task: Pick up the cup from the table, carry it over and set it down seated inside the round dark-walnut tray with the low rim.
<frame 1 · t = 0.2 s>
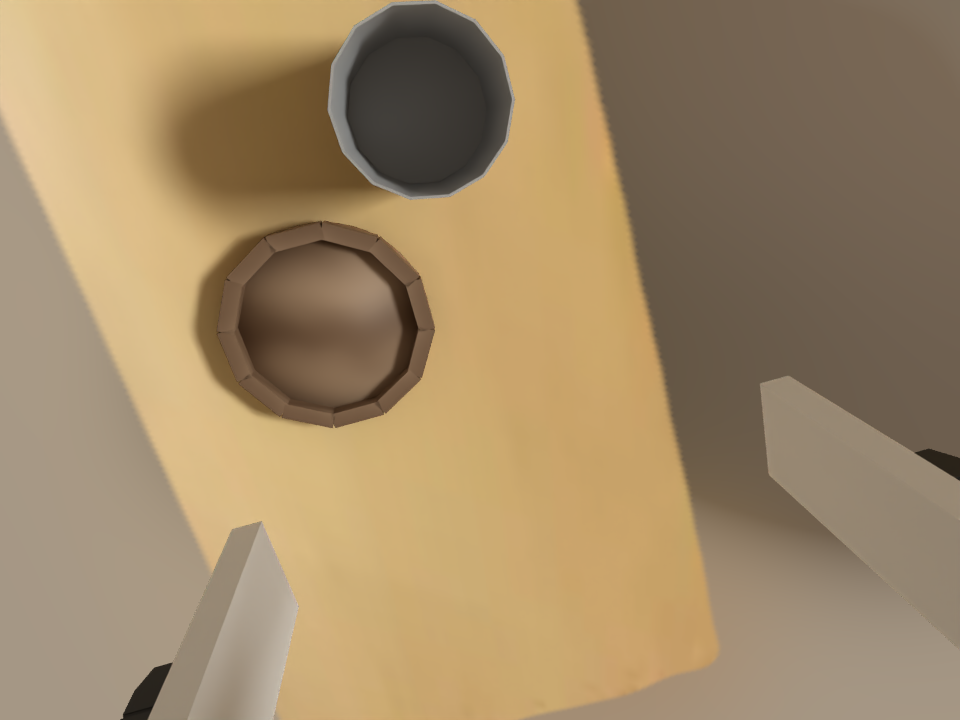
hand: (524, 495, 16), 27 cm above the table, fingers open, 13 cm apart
tray: (330, 323, 41), on the table
cup: (417, 113, 38), on the table
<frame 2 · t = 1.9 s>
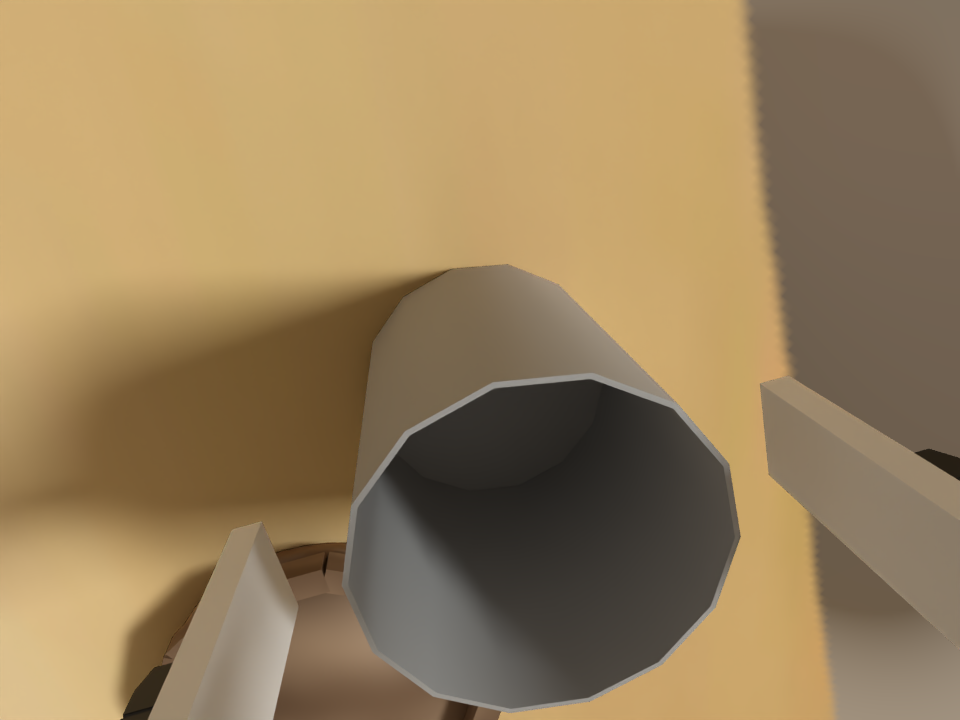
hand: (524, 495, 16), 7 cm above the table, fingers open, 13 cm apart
tray: (338, 674, 26), on the table
cup: (485, 378, 23), on the table
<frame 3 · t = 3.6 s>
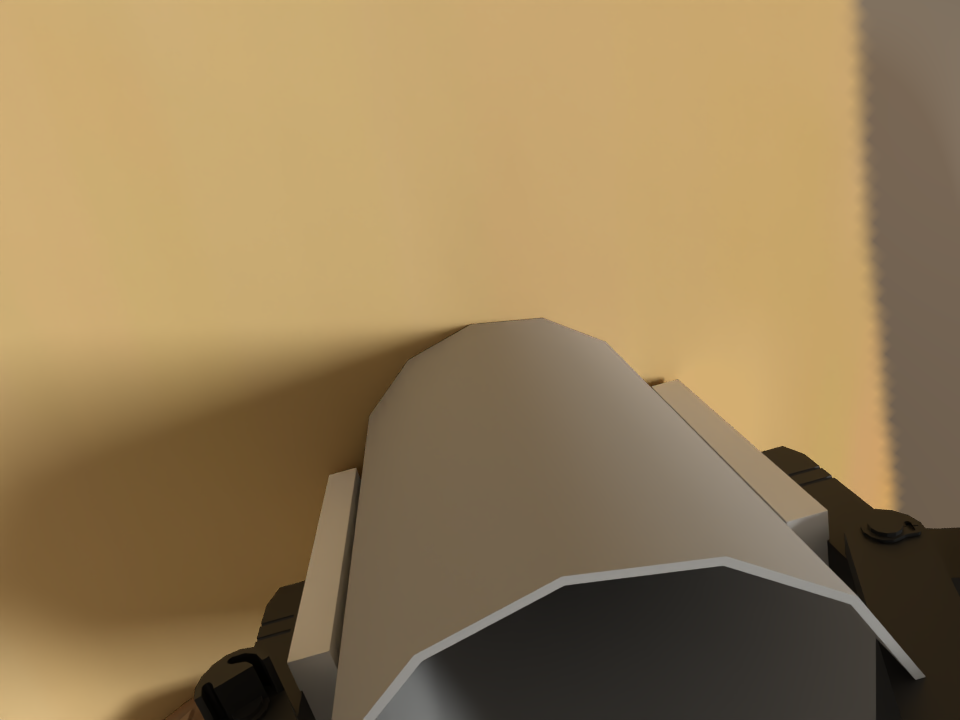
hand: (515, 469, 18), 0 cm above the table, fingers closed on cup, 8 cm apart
cup: (512, 458, 18), on the table, touching gripper
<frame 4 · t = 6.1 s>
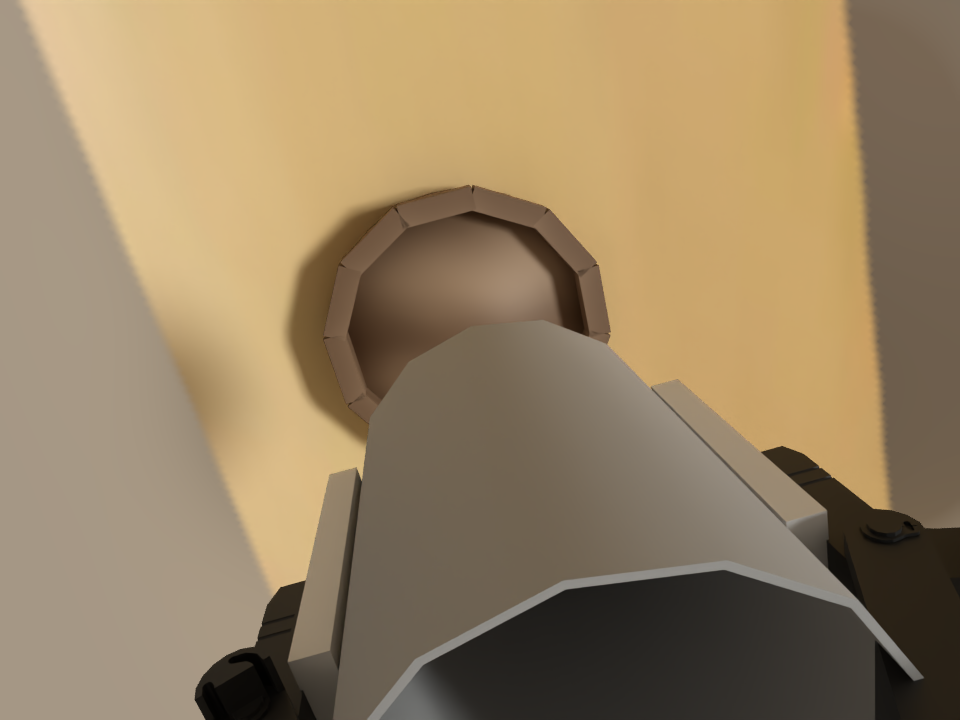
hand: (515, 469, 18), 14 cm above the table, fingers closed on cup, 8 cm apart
tray: (466, 325, 31), on the table
cup: (512, 460, 18), point 14 cm above the table, touching gripper
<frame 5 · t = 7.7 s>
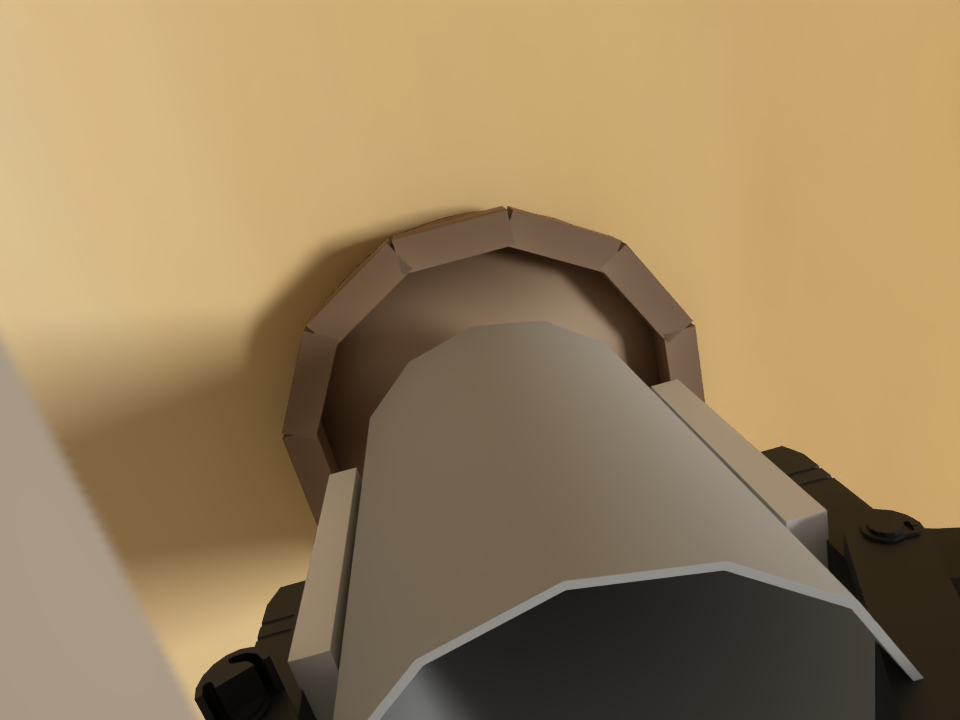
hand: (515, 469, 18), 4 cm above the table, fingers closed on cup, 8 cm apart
tray: (494, 405, 21), on the table
cup: (512, 460, 18), point 4 cm above the table, touching gripper
when the fingers open (3 cm above the table, at t = 9.0 s): cup drops 1 cm, resting on tray.
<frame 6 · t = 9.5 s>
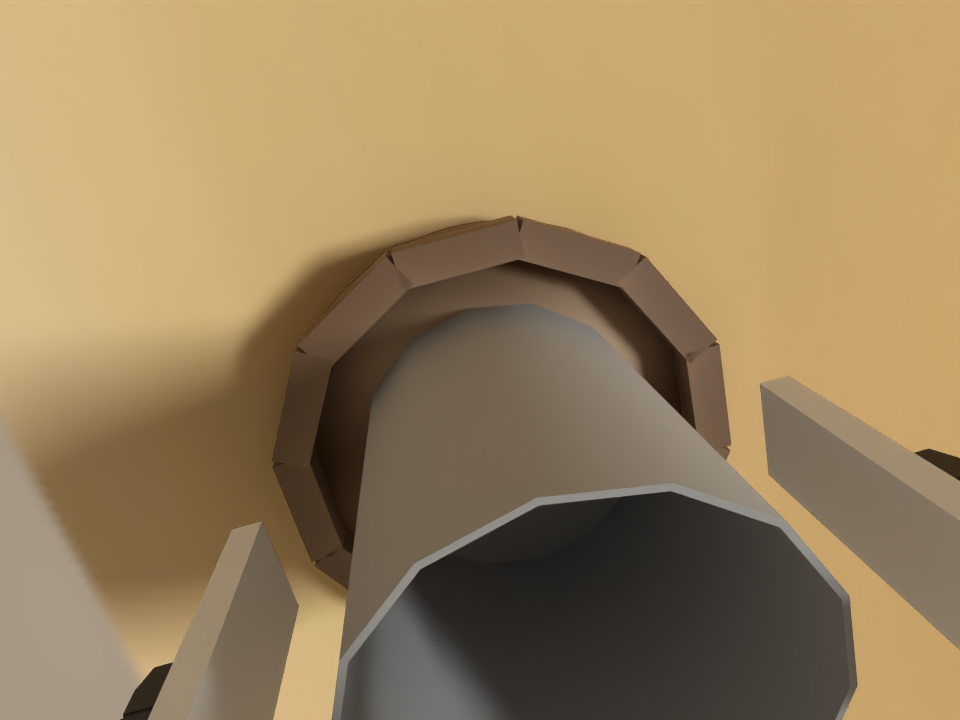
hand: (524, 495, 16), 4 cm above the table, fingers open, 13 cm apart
tray: (501, 428, 20), on the table
cup: (504, 434, 19), point 1 cm above the table, touching tray
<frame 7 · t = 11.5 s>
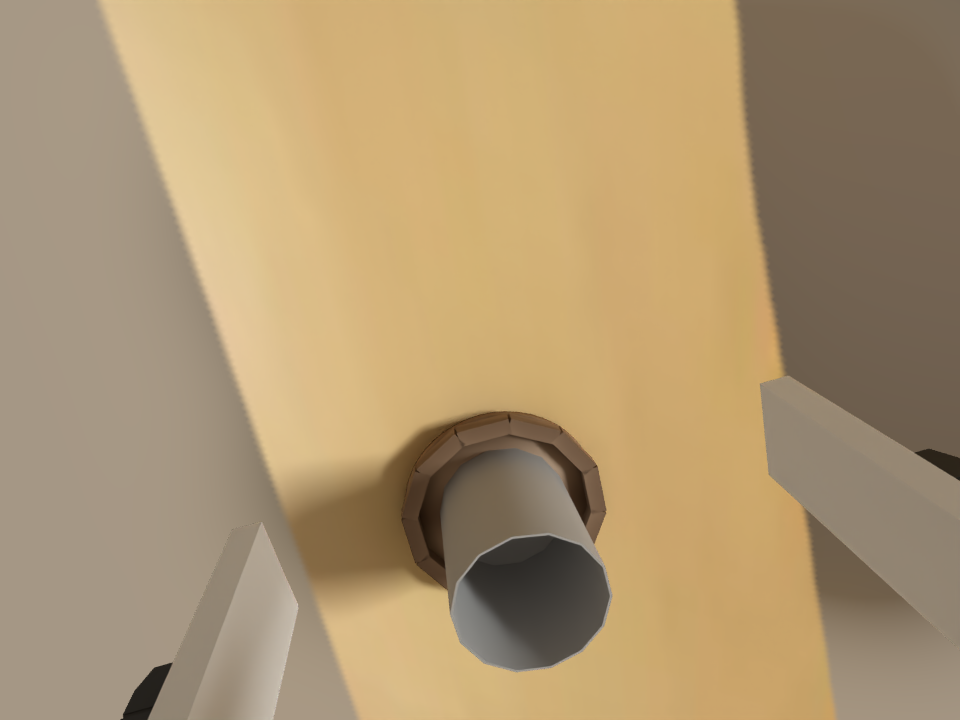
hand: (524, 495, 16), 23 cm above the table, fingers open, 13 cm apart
tray: (501, 501, 43), on the table
cup: (503, 504, 42), point 1 cm above the table, touching tray
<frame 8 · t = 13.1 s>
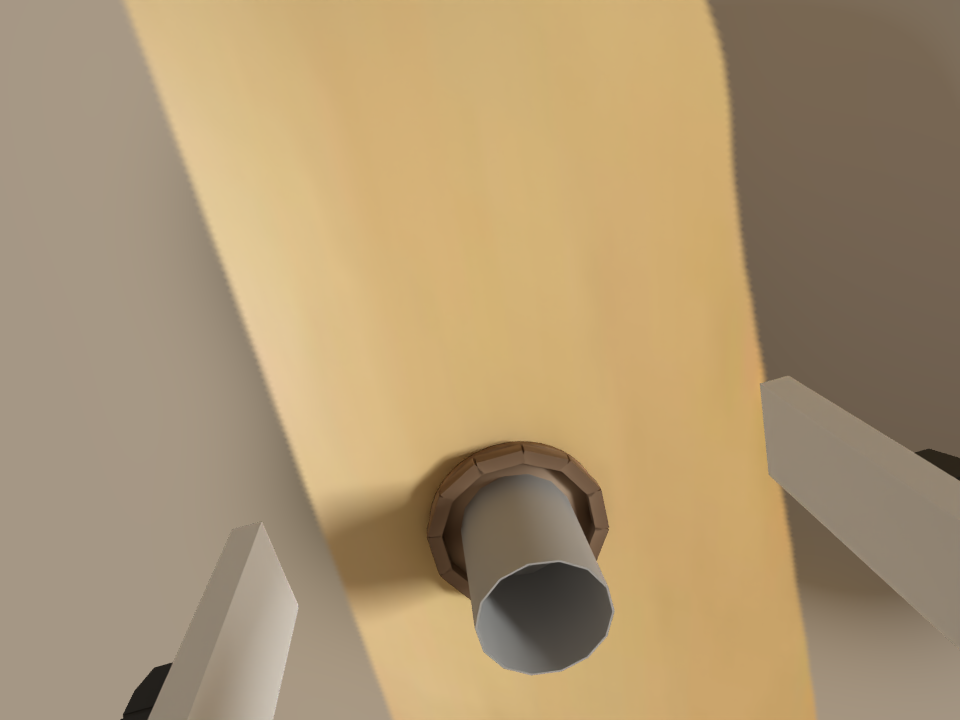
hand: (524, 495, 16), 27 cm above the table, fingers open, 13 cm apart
tray: (515, 519, 48), on the table
cup: (516, 522, 47), point 1 cm above the table, touching tray
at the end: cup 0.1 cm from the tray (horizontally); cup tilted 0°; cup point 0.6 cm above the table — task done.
